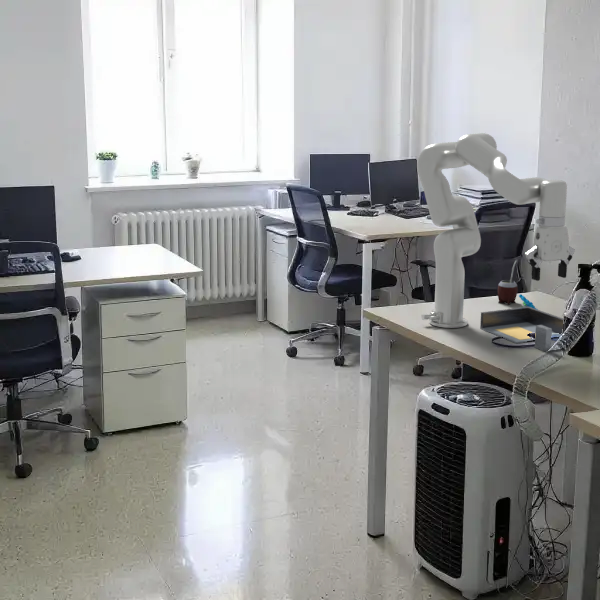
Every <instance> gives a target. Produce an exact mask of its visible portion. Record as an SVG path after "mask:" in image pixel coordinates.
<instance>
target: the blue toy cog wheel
mask: <svg viewBox="0 0 600 600" xmlns="http://www.w3.org/2000/svg"><path fill="white" fill-rule="evenodd" d="M518 297H519V298H520V300H521V301H522V304H521V307H531V308H534V309H537V310H539V309H538V308H536V306H535V305H534V303H533V302H532V301H530V300H529V299H528V298H526V297H525V296H524V295H522V294H519V295H518Z"/></svg>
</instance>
